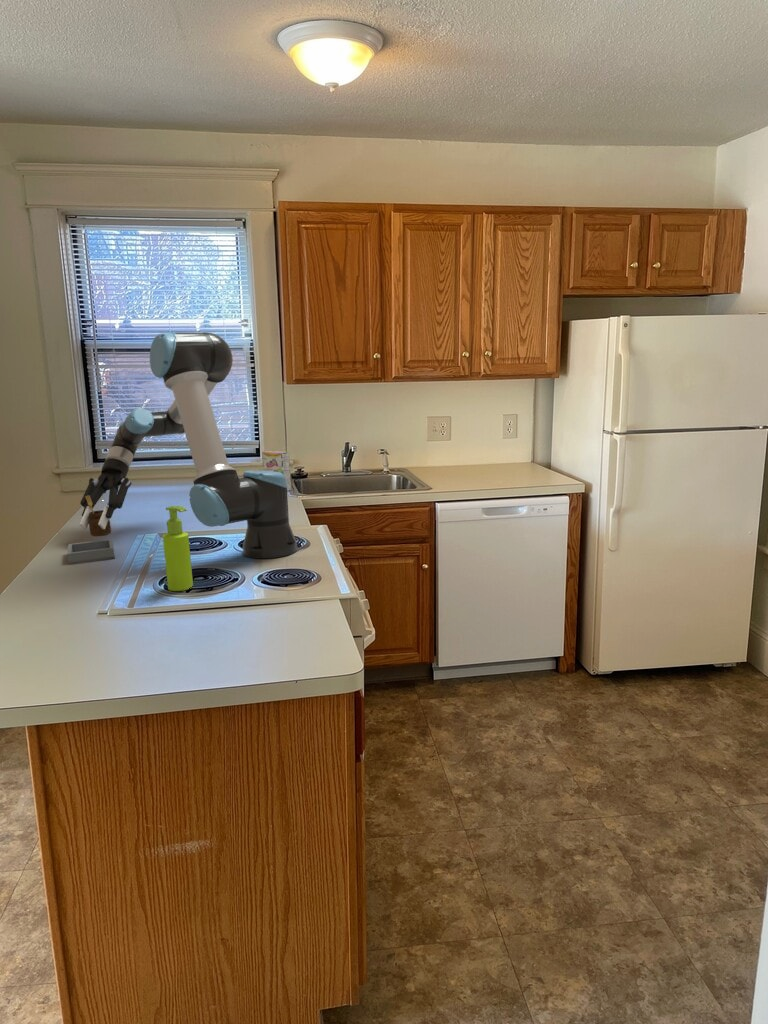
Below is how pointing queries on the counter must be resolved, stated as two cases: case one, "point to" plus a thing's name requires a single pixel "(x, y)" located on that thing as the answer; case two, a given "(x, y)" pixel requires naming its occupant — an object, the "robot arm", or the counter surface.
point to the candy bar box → (277, 464)
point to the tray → (90, 551)
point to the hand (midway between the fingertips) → (92, 526)
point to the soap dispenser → (177, 553)
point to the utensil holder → (97, 521)
